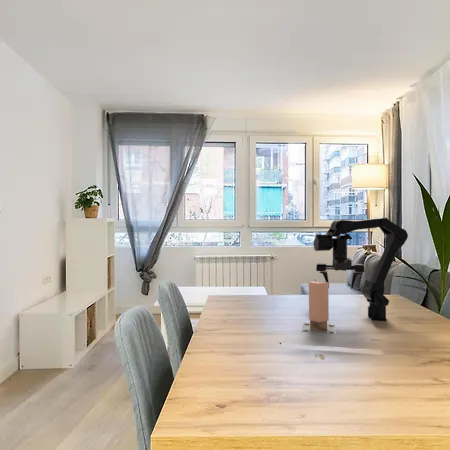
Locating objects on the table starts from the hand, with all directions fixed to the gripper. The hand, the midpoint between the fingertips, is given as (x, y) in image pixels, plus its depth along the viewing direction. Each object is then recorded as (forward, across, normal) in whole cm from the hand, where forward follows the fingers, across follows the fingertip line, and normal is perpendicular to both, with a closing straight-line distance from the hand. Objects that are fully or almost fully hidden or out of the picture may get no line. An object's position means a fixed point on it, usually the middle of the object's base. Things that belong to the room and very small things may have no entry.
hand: (340, 288), depth 162 cm
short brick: (+12, -8, -19) cm, 24 cm away
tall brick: (+9, -8, -19) cm, 22 cm away
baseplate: (+13, -8, -19) cm, 24 cm away
